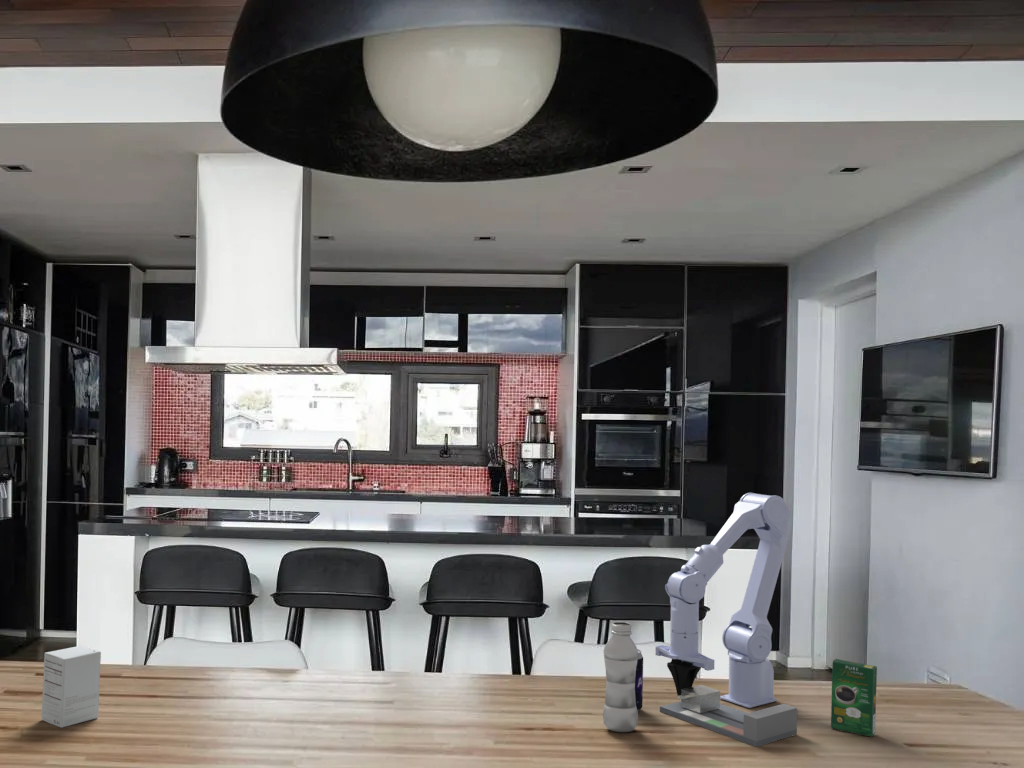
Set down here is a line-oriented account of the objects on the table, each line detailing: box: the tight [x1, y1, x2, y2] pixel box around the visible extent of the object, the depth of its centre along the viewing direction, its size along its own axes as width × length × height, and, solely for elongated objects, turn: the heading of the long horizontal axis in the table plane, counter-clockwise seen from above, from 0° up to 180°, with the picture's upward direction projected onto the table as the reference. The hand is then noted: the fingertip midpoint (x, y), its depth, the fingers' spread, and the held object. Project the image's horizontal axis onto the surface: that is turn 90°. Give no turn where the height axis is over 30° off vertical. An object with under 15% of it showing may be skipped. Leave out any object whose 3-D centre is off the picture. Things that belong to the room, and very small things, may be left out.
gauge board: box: [659, 701, 798, 748], centre depth 173 cm, size 12×24×5 cm, turn 37°
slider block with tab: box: [676, 684, 721, 713], centre depth 177 cm, size 10×5×4 cm, turn 127°
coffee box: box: [830, 658, 878, 738], centre depth 170 cm, size 8×3×13 cm, turn 54°
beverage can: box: [635, 648, 644, 713], centre depth 180 cm, size 6×6×12 cm
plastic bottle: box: [602, 621, 639, 733], centre depth 168 cm, size 6×7×20 cm
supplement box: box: [41, 645, 102, 729], centre depth 166 cm, size 7×7×13 cm
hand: (683, 697), depth 182 cm, fingers closed
